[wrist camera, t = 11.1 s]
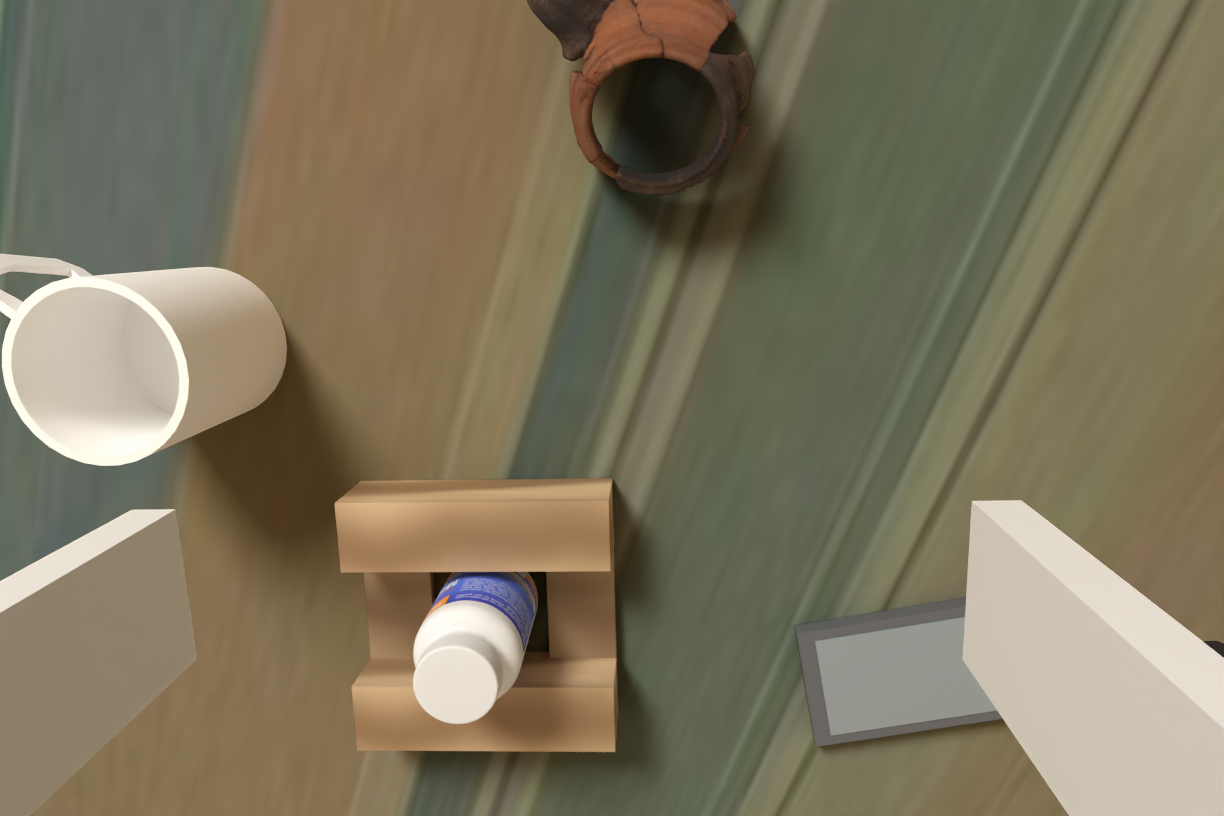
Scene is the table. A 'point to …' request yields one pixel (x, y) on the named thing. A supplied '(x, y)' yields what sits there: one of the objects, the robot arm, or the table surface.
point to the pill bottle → (473, 643)
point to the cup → (136, 356)
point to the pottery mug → (649, 28)
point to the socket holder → (487, 542)
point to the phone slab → (889, 673)
